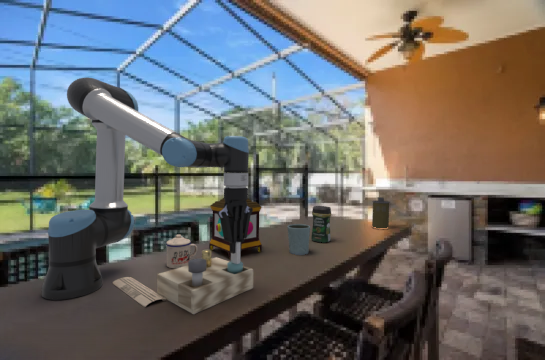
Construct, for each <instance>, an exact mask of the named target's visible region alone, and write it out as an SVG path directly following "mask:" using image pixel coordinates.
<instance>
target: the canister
mask: <svg viewBox="0 0 545 360" xmlns="http://www.w3.org/2000/svg"><path fill="white" fill-rule="evenodd" d="M390 204H391V200H390V201H388V200H385V199H384V197H381V196H379V197H378V196H377V200H373V201H372V220H371V223H372V224H371V225H372V226H373V227H376V228H387V227H389V226H390V225H389V223H390V221H389V220H390ZM372 226H371V227H372Z"/></svg>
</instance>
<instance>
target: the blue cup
mask: <svg viewBox="0 0 545 360" xmlns="http://www.w3.org/2000/svg"><path fill="white" fill-rule="evenodd" d="M286 228H287V235H288V248H289V249H288V251H289V254H291V255H294V254H295V256H305V254H306V255H308V254H309V250H310V249H309V244H310V232H311V226H310V225H308V224H305V223H304V224H303V223H294V224H289V225H287V227H286Z"/></svg>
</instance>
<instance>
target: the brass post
mask: <svg viewBox="0 0 545 360" xmlns="http://www.w3.org/2000/svg"><path fill="white" fill-rule="evenodd" d="M212 253H213V250H210V249H208V248H207V249H203V250H201V259H205V260H206V268H208V267H211V262H212V258H213V257H212V256H213V255H212Z"/></svg>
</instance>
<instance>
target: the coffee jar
mask: <svg viewBox="0 0 545 360" xmlns="http://www.w3.org/2000/svg"><path fill="white" fill-rule="evenodd" d="M311 214H312V229H311V240H312V241H313V242H317V243H321V242H322V243H323V244H325V243H326V242H328V243H330V241H331V223H330V222H331V217H332V210H331V207H330V206H325V205H314V206H313V207H312V211H311ZM326 244H327V243H326Z"/></svg>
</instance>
